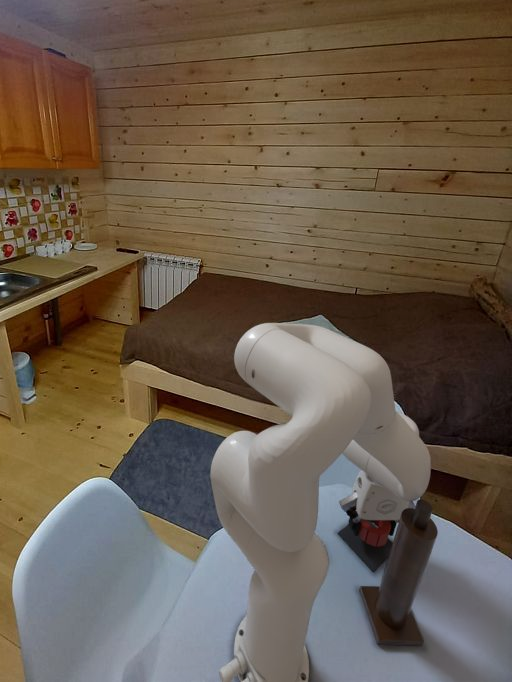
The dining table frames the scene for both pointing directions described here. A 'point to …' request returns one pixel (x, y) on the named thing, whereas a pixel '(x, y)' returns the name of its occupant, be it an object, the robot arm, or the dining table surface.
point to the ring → (375, 532)
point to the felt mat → (366, 548)
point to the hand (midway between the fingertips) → (370, 528)
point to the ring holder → (401, 579)
